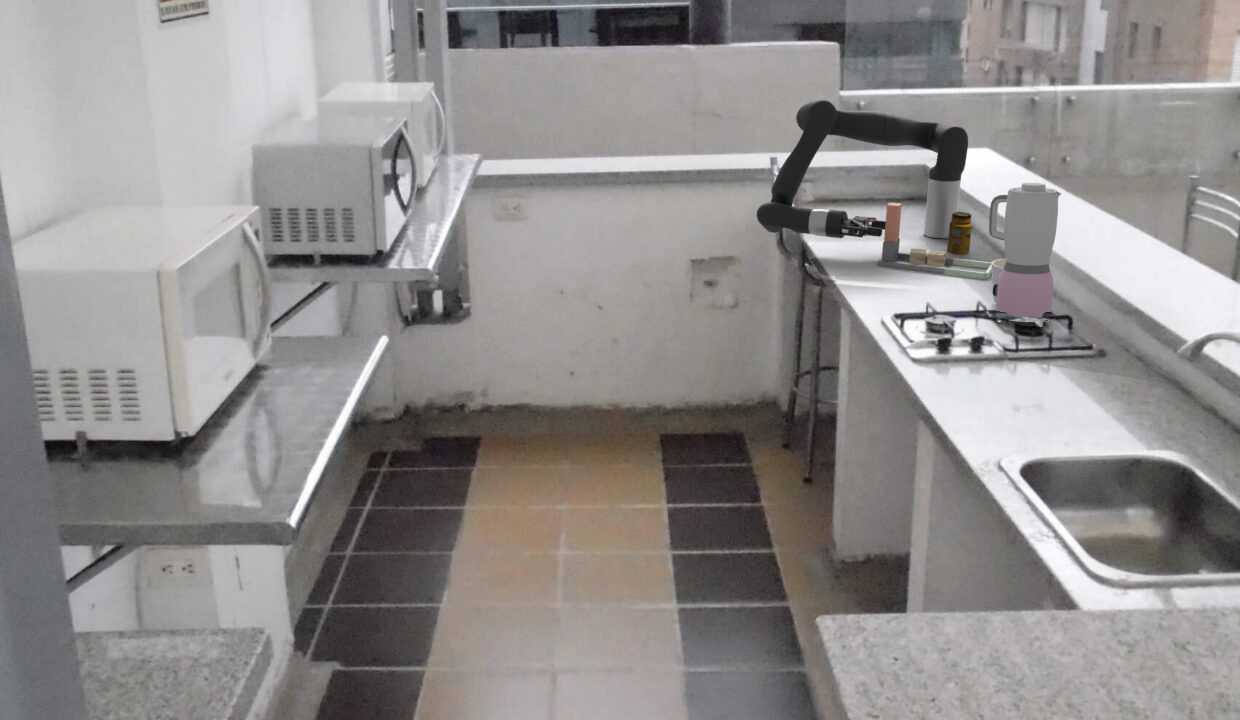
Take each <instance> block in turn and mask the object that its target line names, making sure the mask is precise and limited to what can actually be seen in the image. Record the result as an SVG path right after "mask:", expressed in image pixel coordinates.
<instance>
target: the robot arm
mask: <svg viewBox="0 0 1240 720" xmlns="http://www.w3.org/2000/svg"><path fill="white" fill-rule="evenodd" d="M795 119H796V121H795V122H796V123H797V126H798V127H799V128H800V130H801V131H803V132H802V134H801V136H800V138H799V140H798V142H797V143H796V145H795V147H794V148H793V150H792V151H791V152H790V154H789V155H788V157H787V158H786V159H785V161H784V163H783V164H782V166H781V167H780V169H779V171H778V173H777V175H776V178H775V180H774V182H773V184H772V187H771V199H770V202H765V203H763V204H761V205H760V206H759V207H758V208H757V210H756V219H757V221H758V223H759V224H760V225H761V227H763V228H764V229H765V230H766V231H767V232H769V233H771V234H772V233H778V232H780V231H782V230H783V229H788V230H790V231H792V232H794V233H798V234H807V235H814V236H817V237H826V238H834V239H843V238H844V237H845V236H848V237H855V238H863V237H867V236H868V237H871V236H872V237H878V238H880V237H882V235H883V230H884V231H885V224H886V220H885V221H884V220H878V219H877V217H869V216H858V215H855V216H854V217H853V218H849V217H848V213H847V212H846V211H845V210H837V209H825V208H809V207H808V208H806V207H795V206H793V203H794V199H795V197H796V195H797V193H798V191H799V189H800V186H801V184H802V182H803V180H804V178H805V175H806V173H807V171H808V169H809V167H810V165H811V163H812V161H813V160H814V157H815V156H816V154H818V153H817V152H818V150H819V149H820V147H821V146H822V144H823V142H824V141H825V140H826V138H827V137H828V136H837V137H844V138H847V139H852V140H855V141H860V142H863V143H864V142H865V143H868V144H869V143H870V144H875V145H879V146H888V147H900V146H901V147H904V146H913V147H919V148H920V149H926V150H929V151H932V152H934V153H936V154H937V158H936V161H935V165H934V166H932V167H931V168H930V169H929V173H928V185H927V193H926V195H927V197H926V206H925V215H924V227H923V235H924V236H925V235H926V237H929V238H932V239H933V238H934V239H948V236H949V226H950V223H951V221H952V220H951V219H952V214H953V213H955V212H959V201H960V192H961V181H962V176H963V175H962V174H963V172H964V171H965V167H966V161H967V154H968V148H969V136H968V133H967V131H966V130H965V128H964V127H962V126H960V125H956V124H953V123H950V122H942V121H941V122H940V121H939V122H938V121H936V122H934V121H920V120H915V119H913V118H909V117H907V116H906V117H905V116H904V115H900V114H895V113H892V112H891V113H890V112H885V111H884V112H883V111H878V110H877V111H876V110H841V109H837V108H836V107H835V105H834V103H832V102H831V101H830V100H827V99H818V100H814V101H809V102H808V103H805V104H803V105H802V106H801V107H800V108H799V109H798V110H797V113H796V117H795Z"/></svg>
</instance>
